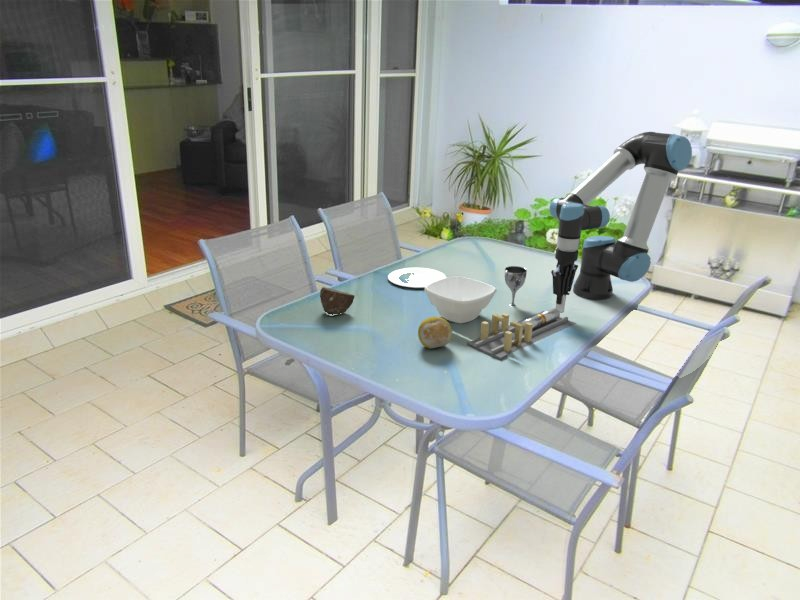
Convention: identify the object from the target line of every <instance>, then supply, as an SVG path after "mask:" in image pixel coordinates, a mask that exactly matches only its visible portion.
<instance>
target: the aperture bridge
mask: <svg viewBox="0 0 800 600" xmlns="http://www.w3.org/2000/svg"><path fill="white" fill-rule="evenodd" d="M504 320H505V317H502V315H501V314H498V313H497V314H496V313H494V314H492V316H491V327H490V333H491V336H493V335H495V334H498V330H499V329H500V328H499V327H500V323H501V322H503V321H504ZM517 322H518V321H515V320H512V321H510V322H509V325H510V326H512V327H515V337H514V345H515V346H517V347H519V346H521V343H522V333H523V325H522V324H520V323H517Z"/></svg>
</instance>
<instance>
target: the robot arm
mask: <svg viewBox="0 0 800 600" xmlns="http://www.w3.org/2000/svg"><path fill="white" fill-rule="evenodd" d="M692 155H693V148H692V143H691V142H690V140H689V138H687V137H685V136H684V135H683V136H682V135H679V134H676V133H661V132H655V131H645V132H642V133H639V134H636V135H634V136H632V137H630V138H629V139H627V140H625V141H623V142H622V143H621V144H620V145H619V146H618V147H617V148H615V149H614V151H613V154H612V155H611V156H610V157H609V158H608V159H607V160H606V161H605V162H604V163H602V164H601V165H600V166H599V167H598V168H597V169H596V170H595V171H593V172H592V173H591V174H590V175H589V176H588V177H586V178H585V180H583V181H582V182H581V183H579V185H578V186H576V187H575V188H574V189H573V190H572V191H571V192H569V194H567V195H566V196H565V197H556V198H554V199H553V200H552V201H551V202H550V204H549V209H548V210H549V213H550V216H551V217H553V218H555V219H557V220H559V222H558V230H557V241H556V249H555V255H554V256H555V257H554V258H555V260H556V261H557V263H556V267H555V269H554V270H553V269H552V270H551V271H550V273H551V275H552V294H553V295H556V301H555V309H557V310H558V311H559V312H560V314H563V313H565V307H566V301H567V296H569V295H570V294H571V293H570V292H572V291H573V293H574V294H575V295H577V296H578V297H581V298H584V299H589V300H606V299H607V300H608V299H609V298H611V297H612V296H613V290H614V289H613V285H612V279H611V277H615V278H617V279H620V280H622V281H627V282H629V283H633V282H637V281H639V280H640V279H642V278H643V277H644V276H645V275H646V274H647V273H648V271H649V270H650V267H651V264H652V263H651V262H652V261H651V260H652V259H651V257H650V255H649V254H648V252H649V249H650V248H649V247H648V245H647V244H648V243H647V242H648V241H649V238H650V235H651V232H652V229H653V228H654V224H655V221H656V219H657V216H658V215H659V214H658V213H659V210H660V209H661V205H662V203H663V200H664V198H665V196H666V194H667V190H668V188H669V185H670V182H671V180H672V179H674V178H676V177H677V176H678V173H679V171H684V170H685V169H686V168H687V167H688V166H689V165H690V163H691V161H692ZM638 165H644V166H643V170H644V171H645V176H644V179H643V181H642V184H641V187H640V190H639V192H638V194H637V197H636V201H635V203H634V205H633V209H632V212H631V214H630V217H629V219H628V222H627V225H626V227H625V230H624V233H623V236H621V237H620V238H617V240H616V237H614V236H606V235H594V236H593V235H592V236H588V237H587V238H585V239H584V241H583V246H582V253H581V259H580V260H581V262H580V270H579V273H578V276H577V277H576V280H575V282H574V279H575V276H576V272H577V270H578V267H579V265H578V264H575V262H576V261H578V259H579V249H580V243H581V235H582V231H586V230H595V229H600V228H604V227H606V226H607V225H608V224H609V222H610V218H611V214H610V210H609V209H608V208H607V207H606V206H604V205H596V206H592V205H589V204H591V202H593V201H594V200H595V199H596V198H598V196H599V195H601V194H602V193H603V192H604V191H605V190H606V189H607V188H609V187H610V186H611V185H612V184H613V183H614V182H615V181H616V180H617V179H618V178H620V177H621V176H622V175H623V174H624V173H626V171H629V170H630V171H631V170H632V169H634V168H635V167H637V166H638ZM573 283H574V284H573ZM572 287H573V290H572Z"/></svg>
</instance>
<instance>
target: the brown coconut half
mask: <svg viewBox="0 0 800 600" xmlns="http://www.w3.org/2000/svg"><path fill="white" fill-rule="evenodd" d="M319 298H320V303H321V306H322V308H323V311H325V312H327V313H328V314H332V315H333V314H340V313H342V314H344V313H346V312H347V311H348V309H349V308H350V307H351V306H352V305H353V303H354V299H355V295H354V294H352V293H349V292H347V291H345V292H343V291H341V290H338V289H337V290H336V289H334V288H329V287H325V286H323V287H321V289H320V293H319ZM325 312H324V313H325ZM340 315H341V314H340Z"/></svg>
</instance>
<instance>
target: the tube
mask: <svg viewBox="0 0 800 600" xmlns="http://www.w3.org/2000/svg"><path fill="white" fill-rule="evenodd" d="M560 316H561V313H560V312H559V311H558V310H557V309H556V307H555V308H553V307H552V308H551V309H549V310H547V311H544V313H541V314H539V315H536V316H534V317H532V318H529V319H527V320H524V321H522V322H520V324H522V325H523V333H525V323H528V322H529V323H532V324H533V328H532V330H533V329H536V328H538V327H540V326H543V325H545V324H547V323H549V322H552V321H554V320H556V319H558V318H559V317H560Z"/></svg>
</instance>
